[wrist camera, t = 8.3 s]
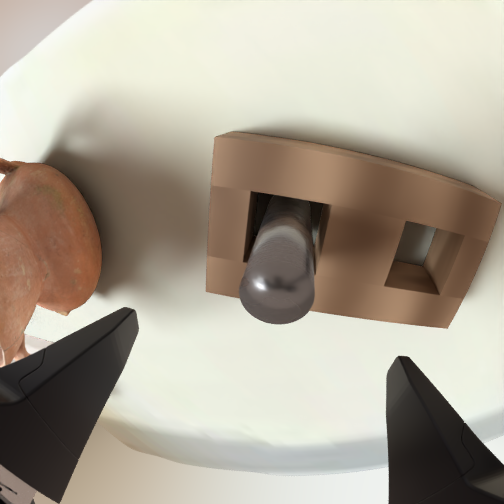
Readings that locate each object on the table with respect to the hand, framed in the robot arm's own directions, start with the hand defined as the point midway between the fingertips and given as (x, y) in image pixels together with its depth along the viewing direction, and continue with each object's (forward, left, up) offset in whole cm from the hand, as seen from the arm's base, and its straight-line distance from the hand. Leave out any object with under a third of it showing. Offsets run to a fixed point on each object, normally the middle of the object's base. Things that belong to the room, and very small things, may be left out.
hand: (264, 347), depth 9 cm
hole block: (-5, 0, -13) cm, 14 cm away
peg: (0, 0, -13) cm, 13 cm away
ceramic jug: (+21, +4, -13) cm, 25 cm away
